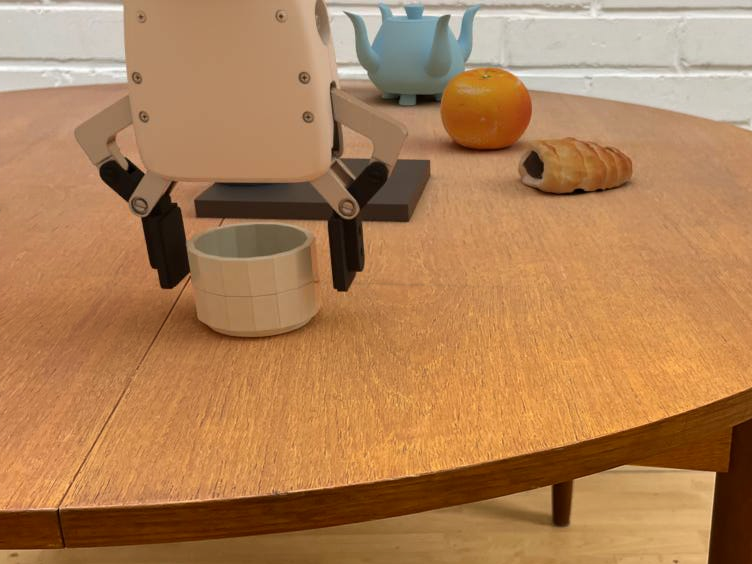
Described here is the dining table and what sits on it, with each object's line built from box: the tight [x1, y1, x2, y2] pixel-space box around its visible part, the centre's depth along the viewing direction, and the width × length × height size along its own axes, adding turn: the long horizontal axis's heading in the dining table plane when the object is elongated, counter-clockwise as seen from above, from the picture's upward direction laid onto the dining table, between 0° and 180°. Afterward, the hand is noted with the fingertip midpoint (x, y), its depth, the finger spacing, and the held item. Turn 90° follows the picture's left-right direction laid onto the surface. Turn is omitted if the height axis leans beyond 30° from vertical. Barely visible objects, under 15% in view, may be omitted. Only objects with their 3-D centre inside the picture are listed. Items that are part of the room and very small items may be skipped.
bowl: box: [185, 221, 322, 338], centre depth 54 cm, size 7×7×4 cm
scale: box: [193, 157, 431, 223], centre depth 77 cm, size 16×14×3 cm
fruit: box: [440, 67, 533, 151], centre depth 91 cm, size 8×8×8 cm
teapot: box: [342, 2, 483, 106], centre depth 112 cm, size 13×13×10 cm
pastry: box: [517, 136, 634, 195], centre depth 80 cm, size 9×7×4 cm
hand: (260, 282), depth 54 cm, fingers open, 9 cm apart
